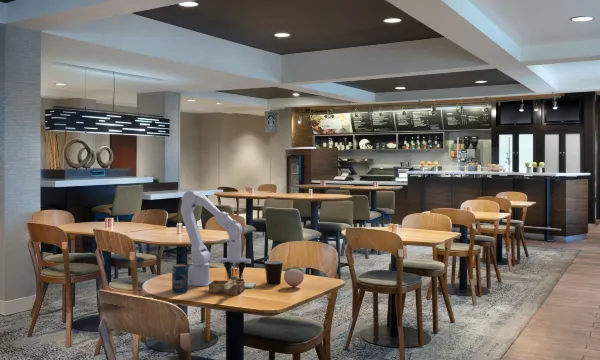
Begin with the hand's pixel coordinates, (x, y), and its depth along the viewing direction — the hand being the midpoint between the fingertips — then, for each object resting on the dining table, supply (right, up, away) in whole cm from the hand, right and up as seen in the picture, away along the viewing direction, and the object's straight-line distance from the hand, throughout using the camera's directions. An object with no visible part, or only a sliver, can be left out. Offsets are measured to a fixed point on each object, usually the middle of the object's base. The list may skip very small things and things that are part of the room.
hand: (235, 278), depth 266 cm
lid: (+2, -4, -1) cm, 4 cm away
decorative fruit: (+27, -4, -3) cm, 28 cm away
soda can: (-23, -4, -13) cm, 26 cm away
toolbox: (-2, -4, -12) cm, 12 cm away
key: (0, +1, -24) cm, 24 cm away
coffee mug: (+18, -3, +7) cm, 20 cm away
